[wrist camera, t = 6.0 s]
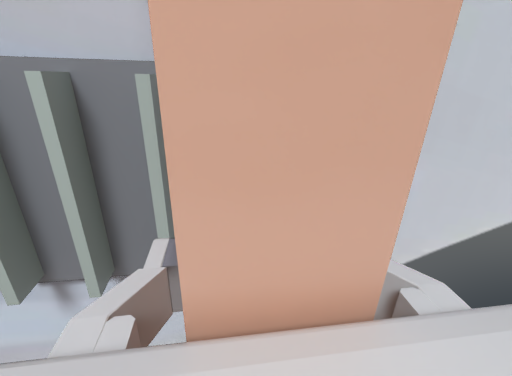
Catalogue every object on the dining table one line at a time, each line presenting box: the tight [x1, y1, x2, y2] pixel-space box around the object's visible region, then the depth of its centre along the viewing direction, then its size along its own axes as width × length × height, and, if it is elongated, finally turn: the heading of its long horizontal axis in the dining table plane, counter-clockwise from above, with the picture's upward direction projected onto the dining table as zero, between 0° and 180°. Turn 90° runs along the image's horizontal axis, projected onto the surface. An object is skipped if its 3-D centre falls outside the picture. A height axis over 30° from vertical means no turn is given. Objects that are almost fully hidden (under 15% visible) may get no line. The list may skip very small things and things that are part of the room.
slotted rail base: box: [0, 56, 175, 305], centre depth 24 cm, size 17×22×5 cm
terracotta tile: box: [148, 0, 463, 342], centre depth 10 cm, size 4×14×10 cm, turn 178°
